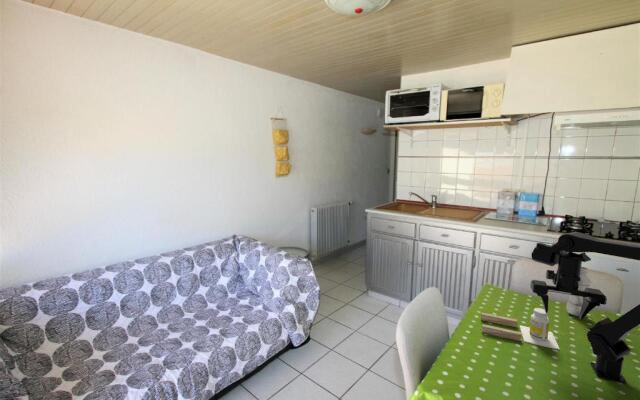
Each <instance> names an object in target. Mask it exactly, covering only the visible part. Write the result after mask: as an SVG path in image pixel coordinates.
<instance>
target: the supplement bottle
mask: <svg viewBox="0 0 640 400" xmlns="http://www.w3.org/2000/svg"><path fill="white" fill-rule="evenodd" d="M548 314H549V311H548V312H547V313H546V312H545V309H544V308H539V307H535V308H534V309H533V314H531V315H530V319H529V320H530V322H529V327H530V332H529V333H530V335H531V336H532V337H533V338H535V339H538V340H547V339H548V331H549V330H550V318H549V317H548Z"/></svg>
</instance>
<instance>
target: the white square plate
mask: <svg viewBox="0 0 640 400" xmlns="http://www.w3.org/2000/svg"><path fill="white" fill-rule="evenodd" d="M519 330H520V332H521V338H522V340H523V342H524V343H527V344H531V345H536V346H540V347H545V348H550V349H553V350H558V351H560V350H561V348H560V347H559V345H558V342H557V340H556V338H555V335H554V333H553V332H552V331H548V339H547V340H538V339H535V338H533V337H532V336H531V335H530V333H529V332H530V326H524V325H521V324H520V325H519Z"/></svg>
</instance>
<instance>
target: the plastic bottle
mask: <svg viewBox="0 0 640 400" xmlns="http://www.w3.org/2000/svg"><path fill="white" fill-rule="evenodd" d="M588 271H589V268H587V267H584V266H581V272H580V278H581V280H580V281H579V287H578V290H582V291H584V290H585V288H591V287H590V286H591V284H592V282H591V278H590V277H589V276H588V273H589V272H588ZM582 303H583V297H581V296H575V295H569V298H568V301H567V303H566V306H565V308H566V311H567V313H568V314H570V315H572V316H575V317H579V318H580V311H581V307H582Z"/></svg>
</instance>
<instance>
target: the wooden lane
mask: <svg viewBox="0 0 640 400" xmlns="http://www.w3.org/2000/svg"><path fill="white" fill-rule="evenodd" d="M480 321H484V322H490V323H492V324H493V323H494V324H498V325H504V326H508V327H513V328H518V319H516V318H511V317H506V316H501V315H497V314H496V315H495V314H491V313H486V312H481V316H480ZM481 333H483V334H487V335H492V336H495V337H501V338H505V339H509V340H514V341H517V342H518V341H519V342H521V341H522V340H521V339H522V333H521V331H515V330H512V329H507V328H501V327H498V326H497V327H496V326H493V325H488V324H485V323H482V327H481Z"/></svg>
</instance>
